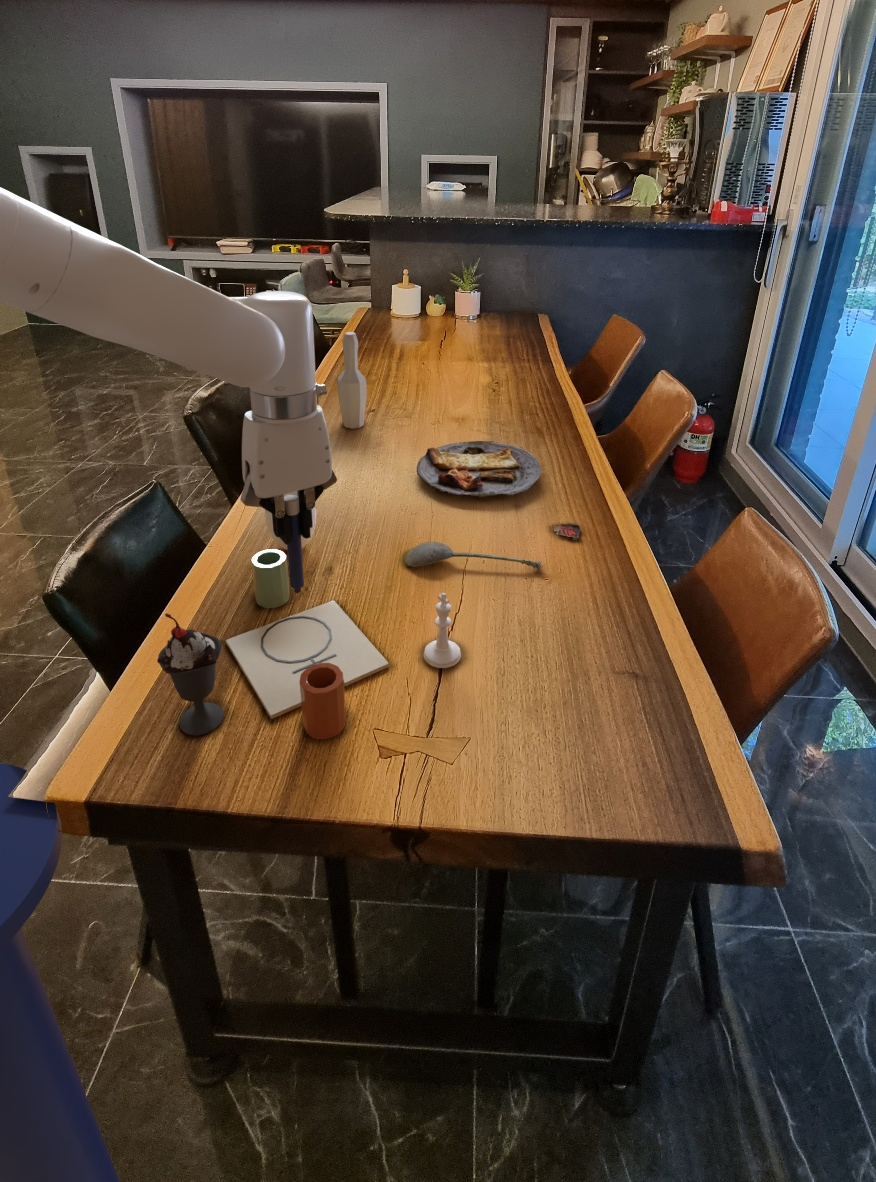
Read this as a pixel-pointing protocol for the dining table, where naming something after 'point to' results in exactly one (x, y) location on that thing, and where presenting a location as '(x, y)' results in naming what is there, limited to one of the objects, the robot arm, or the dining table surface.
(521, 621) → the dining table surface
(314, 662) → the sketch pad
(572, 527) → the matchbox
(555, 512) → the dining table surface
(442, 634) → the chess piece
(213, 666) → the sundae
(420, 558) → the soupspoon
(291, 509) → the marker
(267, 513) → the sauce bottle
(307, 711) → the pen pot
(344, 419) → the low poly bottle
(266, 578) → the pen cup
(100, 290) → the robot arm
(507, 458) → the food plate
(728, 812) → the dining table surface
